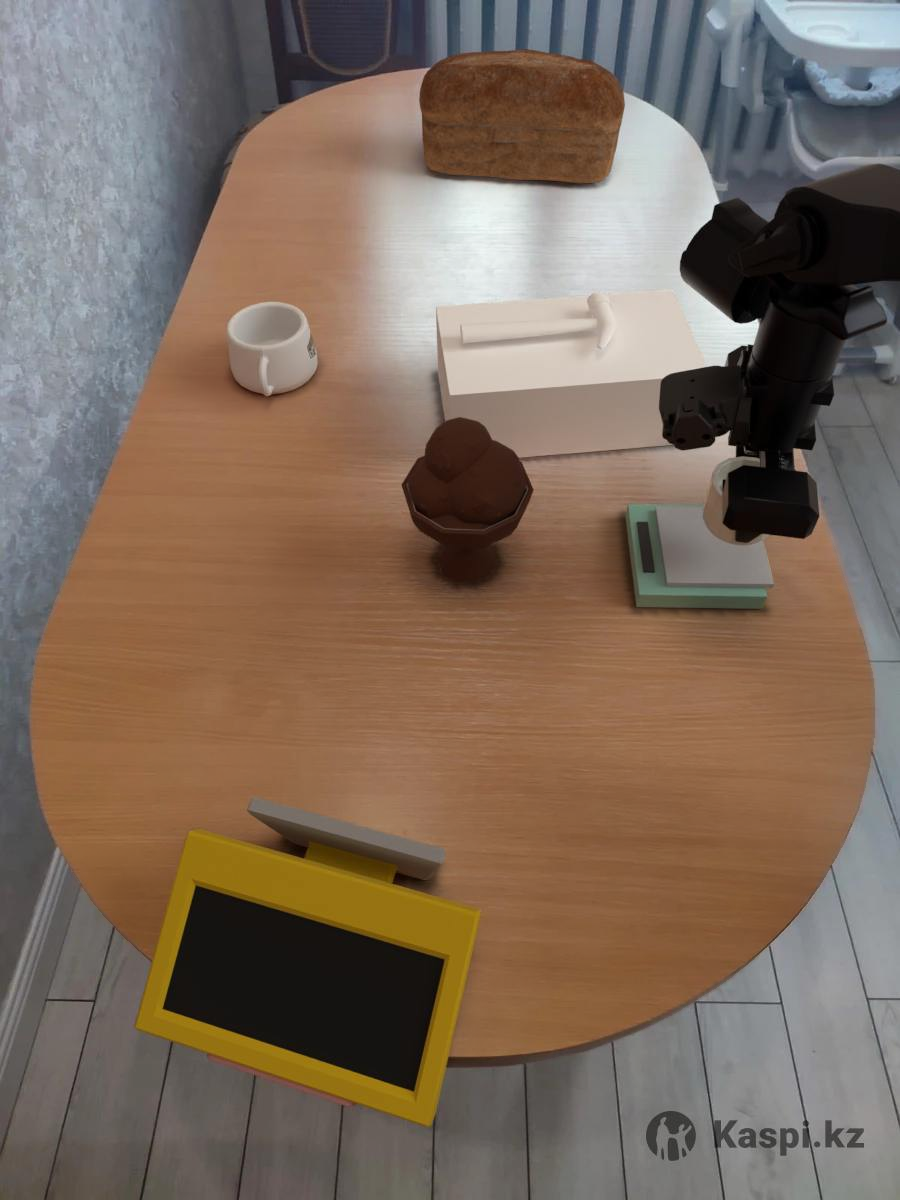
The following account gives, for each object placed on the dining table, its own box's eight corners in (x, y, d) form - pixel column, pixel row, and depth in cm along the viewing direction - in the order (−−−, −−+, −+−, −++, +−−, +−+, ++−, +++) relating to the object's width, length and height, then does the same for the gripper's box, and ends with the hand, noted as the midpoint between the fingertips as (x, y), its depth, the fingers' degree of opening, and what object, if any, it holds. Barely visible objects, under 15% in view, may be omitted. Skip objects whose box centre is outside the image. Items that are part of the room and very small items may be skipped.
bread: (430, 141, 134) (426, 35, 123) (618, 153, 131) (632, 44, 119) (415, 181, 127) (409, 71, 115) (613, 194, 123) (628, 82, 112)
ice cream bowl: (390, 588, 81) (376, 465, 69) (437, 505, 87) (432, 379, 75) (500, 622, 78) (506, 500, 66) (541, 534, 84) (552, 409, 73)
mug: (239, 344, 103) (228, 298, 99) (322, 343, 103) (315, 297, 99) (223, 412, 96) (211, 366, 91) (313, 410, 96) (305, 364, 91)
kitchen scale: (747, 518, 85) (753, 500, 83) (769, 609, 78) (776, 592, 76) (625, 516, 85) (628, 499, 84) (636, 607, 79) (640, 590, 77)
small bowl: (772, 500, 77) (787, 461, 73) (774, 552, 73) (790, 513, 69) (701, 492, 77) (712, 452, 74) (700, 542, 74) (711, 503, 70)
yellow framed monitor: (493, 860, 57) (422, 1138, 50) (495, 883, 63) (433, 1130, 57) (206, 782, 60) (103, 1031, 53) (239, 812, 67) (151, 1036, 60)
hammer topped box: (693, 443, 92) (716, 354, 83) (451, 463, 90) (449, 375, 82) (658, 357, 101) (676, 269, 92) (438, 374, 99) (435, 286, 91)
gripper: (680, 273, 69) (649, 429, 81) (671, 431, 58) (636, 585, 70) (830, 286, 67) (775, 442, 80) (851, 451, 56) (783, 604, 68)
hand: (741, 512), depth 74 cm, fingers closed on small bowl, 6 cm apart
